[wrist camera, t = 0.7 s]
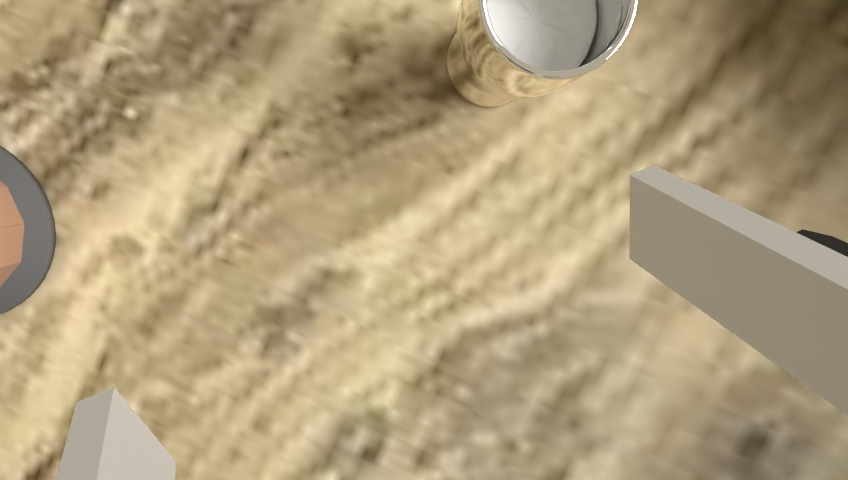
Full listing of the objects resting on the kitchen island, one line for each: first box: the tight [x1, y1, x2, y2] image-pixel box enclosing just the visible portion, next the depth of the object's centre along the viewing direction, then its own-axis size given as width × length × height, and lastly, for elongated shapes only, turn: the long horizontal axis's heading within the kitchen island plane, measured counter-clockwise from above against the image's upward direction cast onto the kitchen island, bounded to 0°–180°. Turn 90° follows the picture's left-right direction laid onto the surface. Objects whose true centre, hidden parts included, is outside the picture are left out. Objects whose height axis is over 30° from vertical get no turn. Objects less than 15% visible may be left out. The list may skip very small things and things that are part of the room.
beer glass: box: [447, 0, 638, 107], centre depth 28 cm, size 7×7×15 cm
